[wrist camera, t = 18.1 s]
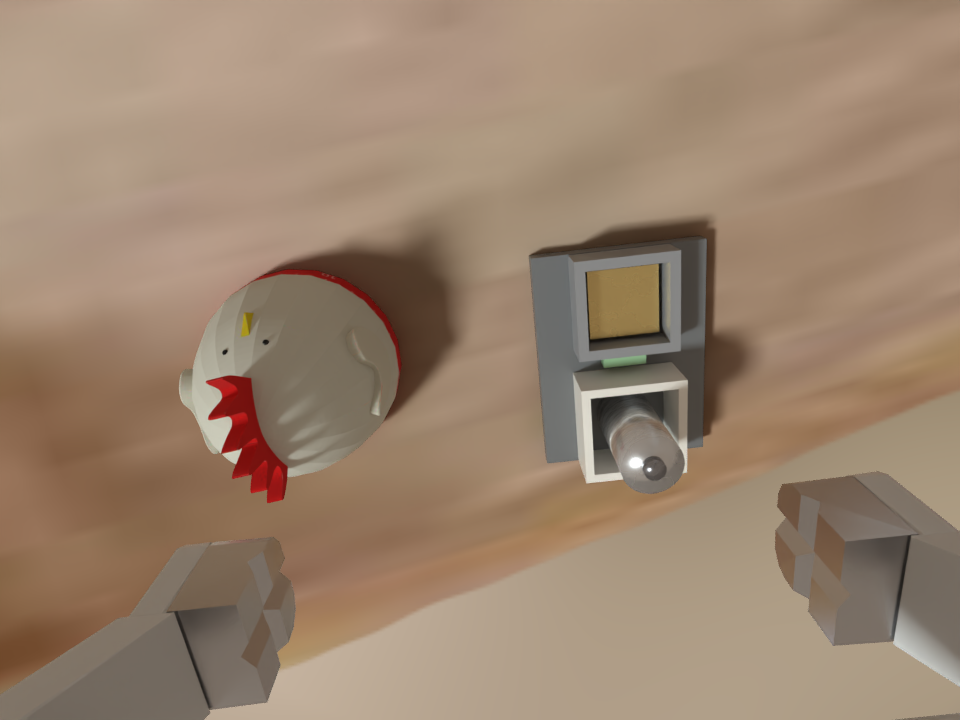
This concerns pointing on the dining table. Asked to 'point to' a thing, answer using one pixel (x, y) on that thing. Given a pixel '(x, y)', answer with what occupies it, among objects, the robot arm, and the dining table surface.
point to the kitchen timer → (292, 376)
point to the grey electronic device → (618, 350)
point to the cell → (640, 443)
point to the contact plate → (623, 301)
